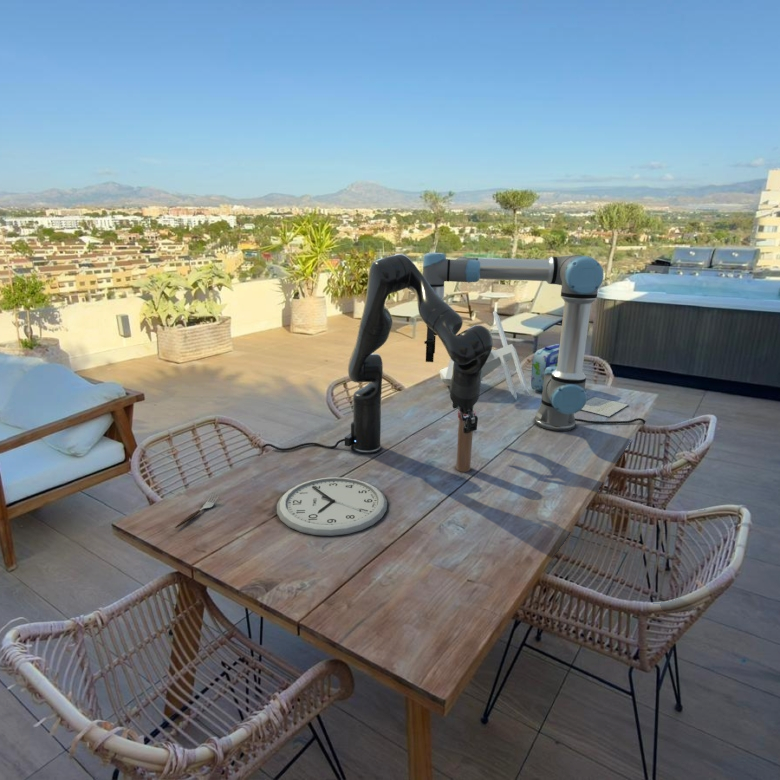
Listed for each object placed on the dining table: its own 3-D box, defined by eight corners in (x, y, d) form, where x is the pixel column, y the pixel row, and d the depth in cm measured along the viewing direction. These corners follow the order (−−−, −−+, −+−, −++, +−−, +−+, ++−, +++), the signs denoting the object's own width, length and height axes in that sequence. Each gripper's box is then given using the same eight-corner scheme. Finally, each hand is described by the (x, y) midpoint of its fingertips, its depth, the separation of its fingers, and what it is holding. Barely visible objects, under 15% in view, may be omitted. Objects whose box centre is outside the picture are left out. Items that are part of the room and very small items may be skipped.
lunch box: (547, 396, 238) (552, 351, 232) (526, 391, 246) (531, 347, 239) (574, 385, 256) (579, 343, 250) (554, 380, 263) (559, 340, 257)
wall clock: (392, 527, 129) (268, 531, 127) (391, 533, 130) (269, 537, 127) (383, 473, 158) (282, 475, 155) (383, 478, 158) (282, 480, 156)
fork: (171, 528, 130) (170, 521, 130) (212, 499, 145) (211, 492, 144) (179, 530, 129) (178, 523, 129) (220, 500, 144) (219, 494, 143)
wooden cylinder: (453, 467, 166) (456, 412, 161) (463, 464, 169) (467, 409, 163) (462, 473, 163) (466, 416, 157) (473, 469, 165) (477, 414, 160)
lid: (454, 416, 161) (454, 410, 161) (467, 413, 164) (467, 408, 164) (465, 421, 157) (465, 415, 157) (478, 418, 160) (478, 412, 159)
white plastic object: (461, 429, 252) (437, 405, 227) (444, 352, 274) (420, 323, 250) (535, 404, 240) (518, 377, 215) (510, 326, 262) (492, 293, 237)
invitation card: (608, 416, 214) (573, 407, 224) (608, 416, 214) (573, 408, 224) (628, 404, 229) (594, 396, 238) (628, 405, 229) (594, 397, 238)
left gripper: (442, 368, 137) (440, 402, 151) (461, 412, 129) (458, 444, 143) (468, 361, 138) (465, 395, 152) (489, 404, 130) (483, 436, 144)
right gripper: (424, 293, 195) (422, 349, 202) (419, 302, 172) (417, 365, 178) (444, 294, 195) (441, 350, 201) (442, 303, 171) (439, 366, 177)
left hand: (461, 419), depth 147 cm, fingers open, 8 cm apart
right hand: (430, 357), depth 190 cm, fingers open, 13 cm apart
